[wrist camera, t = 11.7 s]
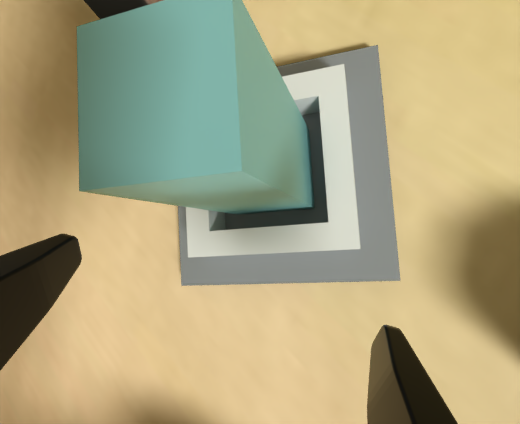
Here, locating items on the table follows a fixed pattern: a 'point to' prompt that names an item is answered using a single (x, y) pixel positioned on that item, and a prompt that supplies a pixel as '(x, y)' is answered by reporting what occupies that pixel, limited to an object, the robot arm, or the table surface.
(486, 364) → the table surface
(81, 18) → the table surface
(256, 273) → the square socket base
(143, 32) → the teal rectangular block
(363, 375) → the table surface
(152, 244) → the table surface
